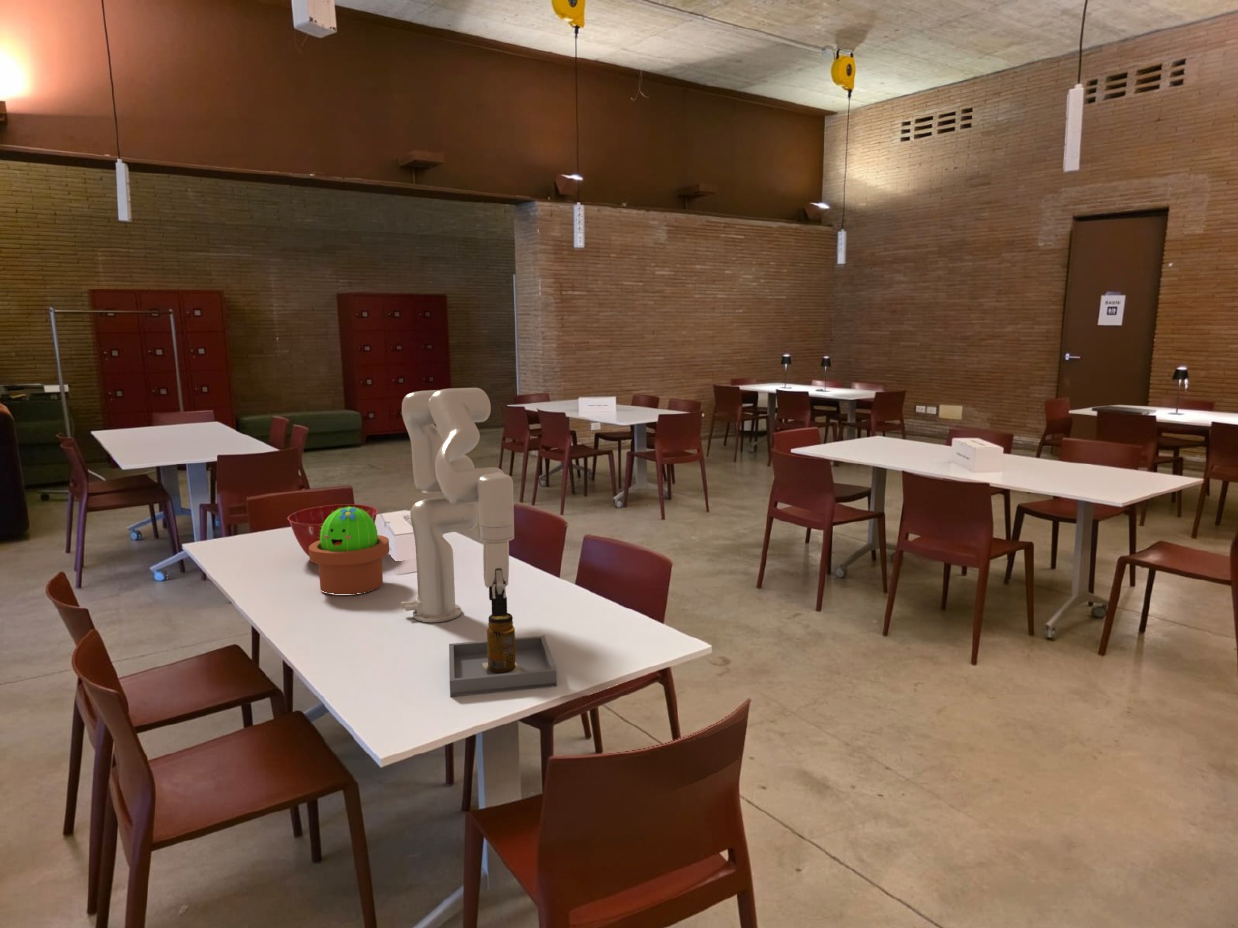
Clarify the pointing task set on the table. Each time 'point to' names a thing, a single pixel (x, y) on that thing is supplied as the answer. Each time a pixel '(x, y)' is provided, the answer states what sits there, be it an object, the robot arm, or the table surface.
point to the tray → (474, 679)
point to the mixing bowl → (318, 522)
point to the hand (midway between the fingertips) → (497, 607)
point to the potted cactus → (349, 552)
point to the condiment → (501, 646)
